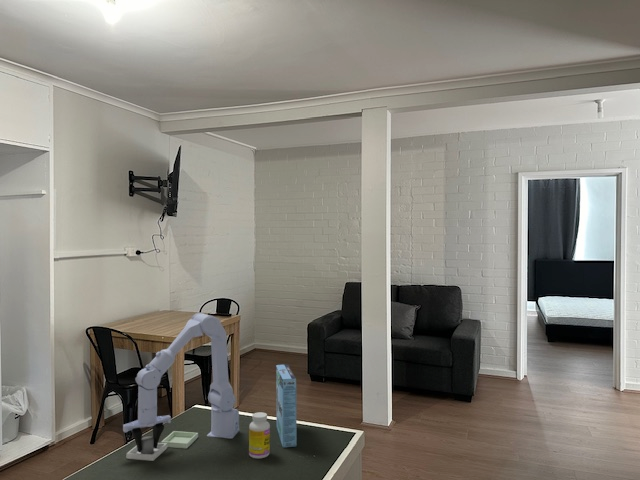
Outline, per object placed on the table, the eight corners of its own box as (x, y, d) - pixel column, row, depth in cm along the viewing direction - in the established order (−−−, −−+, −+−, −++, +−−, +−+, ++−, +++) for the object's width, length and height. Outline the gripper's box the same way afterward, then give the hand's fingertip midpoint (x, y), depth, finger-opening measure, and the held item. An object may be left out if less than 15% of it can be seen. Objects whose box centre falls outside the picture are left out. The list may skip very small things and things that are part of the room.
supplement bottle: (265, 460, 150) (266, 419, 150) (245, 458, 151) (246, 417, 151) (272, 451, 156) (272, 412, 156) (253, 449, 157) (253, 410, 158)
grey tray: (166, 449, 157) (166, 443, 157) (153, 461, 148) (153, 455, 148) (141, 447, 158) (141, 441, 158) (126, 459, 149) (126, 453, 149)
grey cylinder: (156, 451, 155) (156, 436, 155) (149, 456, 151) (149, 441, 151) (144, 450, 155) (144, 435, 155) (138, 455, 151) (138, 441, 151)
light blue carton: (296, 447, 160) (297, 378, 160) (281, 448, 159) (282, 379, 159) (288, 425, 179) (289, 363, 179) (275, 426, 178) (275, 364, 178)
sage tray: (197, 438, 166) (198, 432, 166) (186, 449, 157) (186, 443, 157) (173, 436, 167) (173, 431, 167) (161, 447, 158) (161, 441, 158)
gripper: (127, 415, 146) (126, 459, 146) (174, 405, 154) (173, 447, 154) (121, 408, 151) (121, 451, 151) (166, 399, 160) (166, 440, 160)
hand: (147, 449), depth 153 cm, fingers open, 4 cm apart
